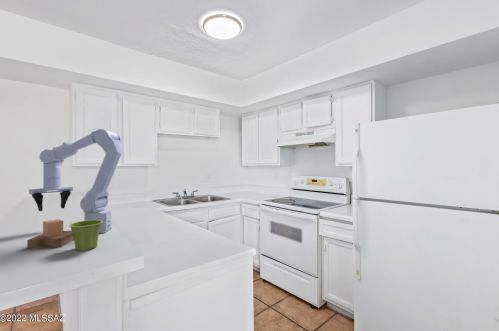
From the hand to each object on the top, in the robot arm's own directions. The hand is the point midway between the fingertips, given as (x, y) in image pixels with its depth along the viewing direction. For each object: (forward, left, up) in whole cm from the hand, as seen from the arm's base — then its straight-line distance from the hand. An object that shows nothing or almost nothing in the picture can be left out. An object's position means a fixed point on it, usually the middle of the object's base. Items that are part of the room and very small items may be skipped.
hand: (51, 209), depth 100 cm
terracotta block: (-10, +18, -6) cm, 21 cm away
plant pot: (-24, +26, -10) cm, 37 cm away
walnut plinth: (-10, +18, -9) cm, 23 cm away
